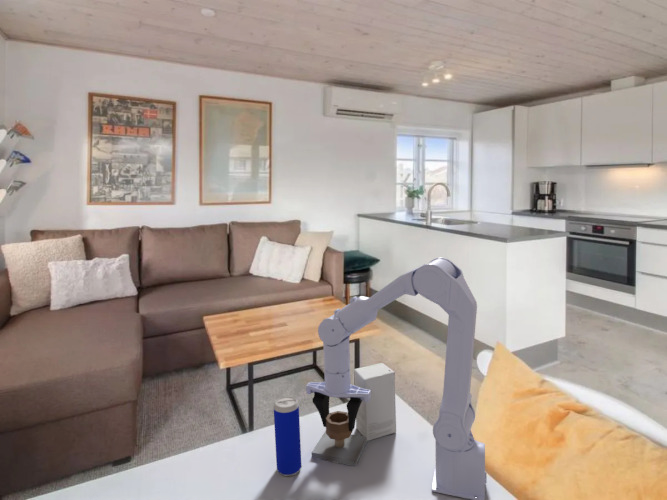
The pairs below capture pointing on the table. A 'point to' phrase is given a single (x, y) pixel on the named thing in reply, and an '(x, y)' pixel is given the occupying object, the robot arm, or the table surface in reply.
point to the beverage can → (287, 435)
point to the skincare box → (376, 401)
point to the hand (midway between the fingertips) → (339, 426)
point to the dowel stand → (340, 449)
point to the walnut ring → (338, 425)
